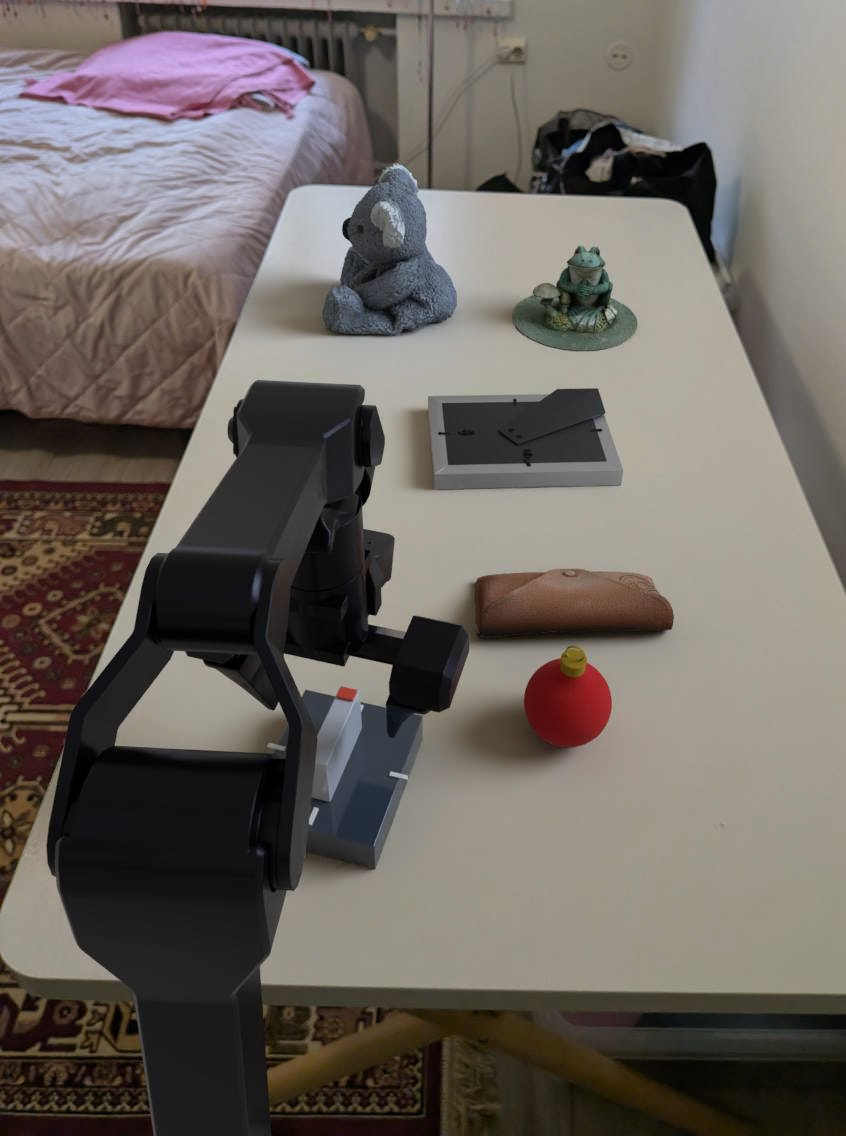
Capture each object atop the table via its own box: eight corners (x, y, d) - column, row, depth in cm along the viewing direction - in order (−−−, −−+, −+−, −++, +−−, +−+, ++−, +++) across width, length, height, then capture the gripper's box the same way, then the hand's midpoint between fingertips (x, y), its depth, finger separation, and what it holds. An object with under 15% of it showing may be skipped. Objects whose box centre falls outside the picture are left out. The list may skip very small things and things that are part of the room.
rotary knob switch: (383, 872, 69) (382, 847, 67) (239, 835, 71) (233, 810, 69) (429, 740, 78) (430, 715, 76) (301, 711, 80) (298, 686, 78)
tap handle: (330, 802, 70) (326, 762, 67) (309, 797, 70) (304, 757, 67) (362, 728, 75) (360, 688, 72) (343, 723, 75) (340, 683, 72)
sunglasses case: (651, 570, 94) (669, 550, 88) (660, 641, 92) (679, 625, 86) (470, 577, 93) (474, 556, 87) (474, 648, 90) (479, 633, 84)
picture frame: (595, 407, 119) (427, 410, 117) (598, 388, 117) (427, 390, 115) (621, 485, 106) (434, 489, 104) (624, 464, 105) (434, 468, 103)
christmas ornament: (615, 711, 81) (631, 629, 75) (593, 777, 76) (608, 694, 70) (536, 686, 83) (545, 604, 77) (509, 749, 78) (516, 665, 72)
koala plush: (344, 281, 143) (337, 150, 131) (463, 290, 143) (467, 159, 130) (318, 337, 130) (307, 196, 118) (449, 348, 129) (452, 207, 117)
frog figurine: (505, 343, 130) (510, 264, 123) (519, 286, 144) (524, 211, 137) (636, 357, 129) (648, 277, 122) (638, 297, 143) (649, 223, 136)
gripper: (493, 509, 65) (484, 664, 74) (237, 461, 68) (260, 616, 77) (449, 624, 56) (445, 783, 66) (158, 563, 59) (195, 724, 69)
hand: (333, 718), depth 70 cm, fingers open, 9 cm apart
